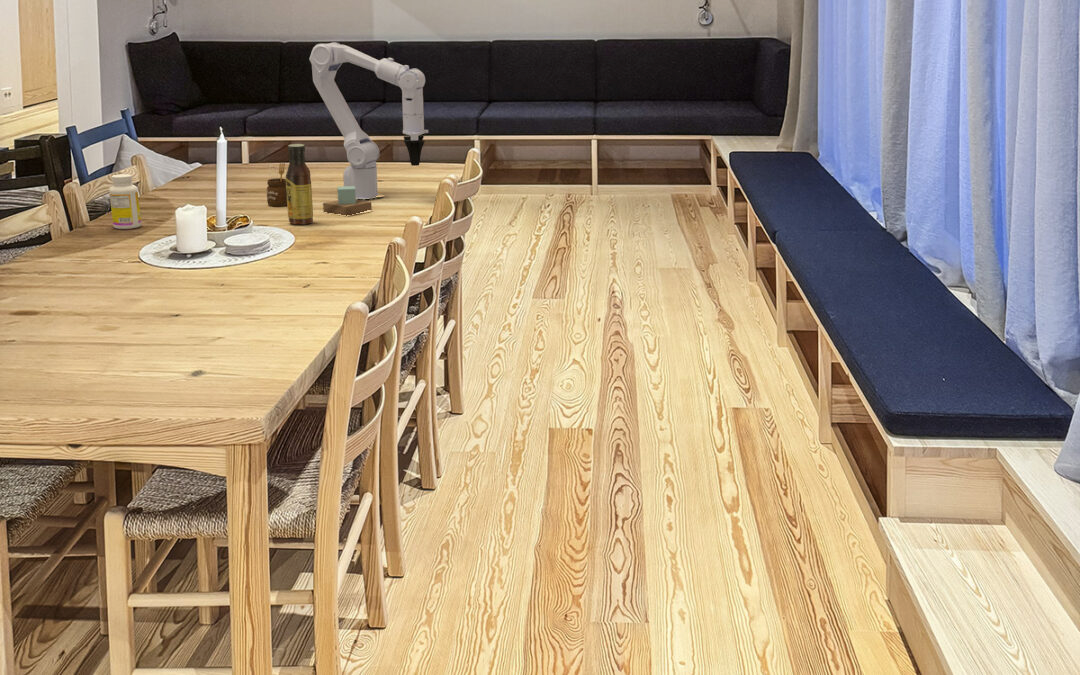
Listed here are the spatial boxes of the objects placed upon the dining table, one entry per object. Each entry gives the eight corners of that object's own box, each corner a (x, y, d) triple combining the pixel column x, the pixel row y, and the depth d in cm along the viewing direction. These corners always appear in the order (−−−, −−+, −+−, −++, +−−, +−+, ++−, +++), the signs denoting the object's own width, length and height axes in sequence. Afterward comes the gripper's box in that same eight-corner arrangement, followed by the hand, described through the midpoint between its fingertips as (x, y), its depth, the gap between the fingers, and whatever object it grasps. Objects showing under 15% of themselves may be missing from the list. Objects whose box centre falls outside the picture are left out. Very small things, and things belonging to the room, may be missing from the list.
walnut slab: (323, 214, 296) (323, 203, 295) (348, 209, 303) (348, 198, 302) (346, 218, 290) (346, 206, 290) (371, 213, 297) (371, 202, 296)
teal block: (338, 204, 293) (338, 189, 292) (338, 201, 297) (337, 186, 296) (356, 203, 294) (355, 188, 293) (355, 200, 298) (354, 186, 297)
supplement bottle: (130, 223, 280) (125, 172, 277) (147, 226, 277) (142, 175, 273) (107, 227, 275) (101, 176, 271) (124, 230, 272) (118, 178, 268)
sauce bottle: (290, 220, 284) (285, 142, 278) (314, 220, 285) (310, 142, 279) (286, 226, 278) (281, 146, 272) (312, 225, 279) (307, 146, 273)
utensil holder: (281, 202, 309) (279, 159, 306) (294, 205, 305) (291, 161, 302) (263, 205, 305) (260, 161, 302) (275, 208, 301) (272, 163, 298)
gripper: (428, 116, 300) (430, 166, 304) (426, 111, 314) (428, 159, 318) (402, 117, 299) (404, 167, 303) (401, 111, 313) (403, 160, 317)
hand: (414, 163), depth 310 cm, fingers open, 7 cm apart
